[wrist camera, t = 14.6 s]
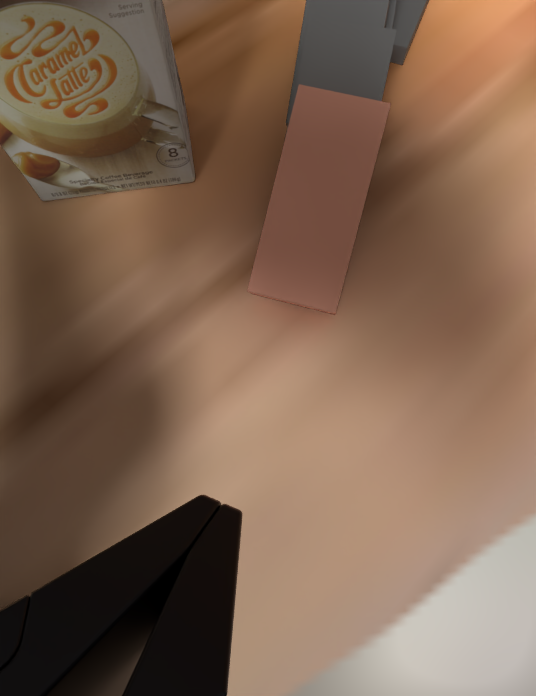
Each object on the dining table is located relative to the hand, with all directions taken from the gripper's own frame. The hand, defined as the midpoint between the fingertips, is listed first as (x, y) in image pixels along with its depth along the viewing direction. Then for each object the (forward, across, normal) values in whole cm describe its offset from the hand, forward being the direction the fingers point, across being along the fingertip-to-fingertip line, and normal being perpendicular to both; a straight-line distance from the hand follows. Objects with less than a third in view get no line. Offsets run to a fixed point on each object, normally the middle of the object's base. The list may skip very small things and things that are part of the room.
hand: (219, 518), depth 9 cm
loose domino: (+16, +3, +2) cm, 16 cm away
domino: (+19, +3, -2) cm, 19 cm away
